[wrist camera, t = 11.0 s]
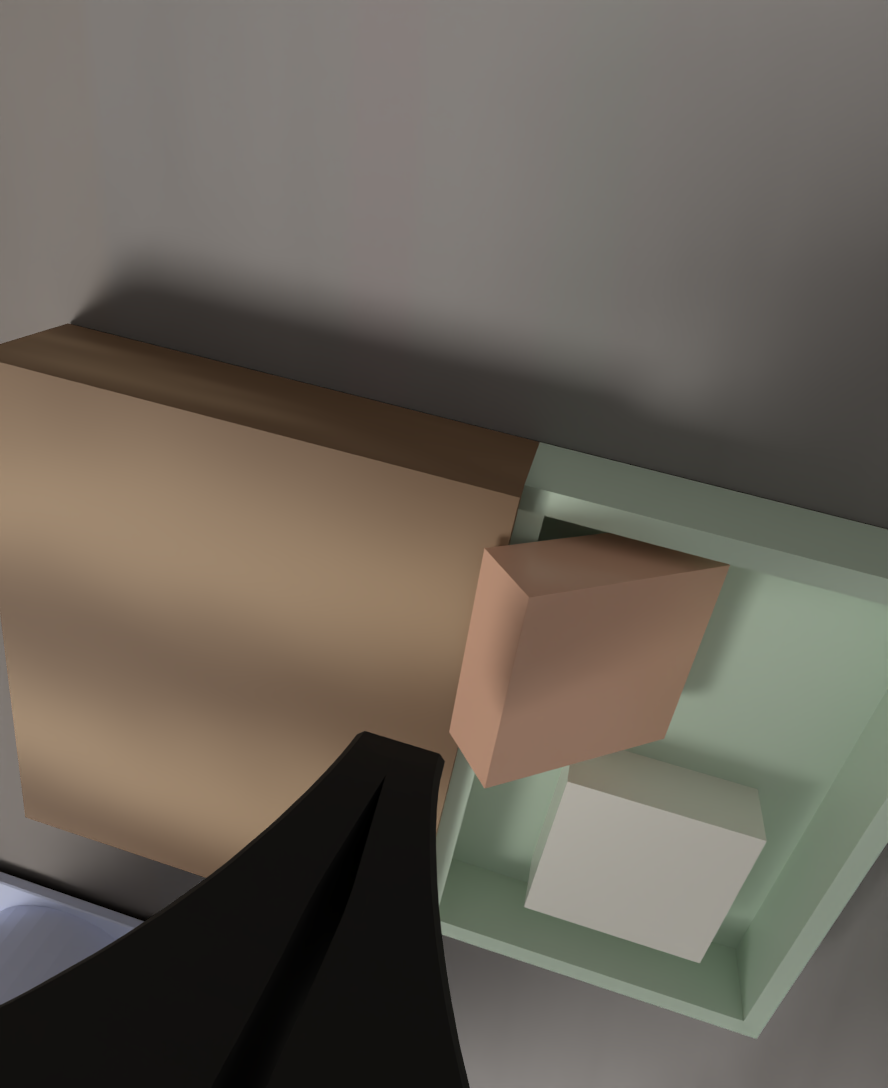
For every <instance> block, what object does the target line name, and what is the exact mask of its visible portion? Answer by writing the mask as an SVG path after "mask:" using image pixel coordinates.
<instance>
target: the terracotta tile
mask: <svg viewBox="0 0 888 1088" xmlns="http://www.w3.org/2000/svg"><path fill="white" fill-rule="evenodd" d="M729 567H730V565H729V564H726V563H722V562H719V561H715V560H711V559H707V558H703V557H700V556H696V555H692V554H688V553H684V552H681V551H677V550H673V549H669V548H665V547H661V546H658V545H654V544H650V543H646V542H642V541H639V540H635V539H631V538H627V537H623V536H620V535H616V534H612V533H602V534H594V535H586V536H578V537H570V538H562V539H554V540H546V541H538V542H530V543H522V544H514V545H506V546H498V547H490V548H484V553H483V558H482V563H481V568H480V573H479V579H478V584H477V589H476V594H475V600H474V605H473V610H472V615H471V620H470V626H469V631H468V636H467V641H466V647H465V652H464V657H463V662H462V667H461V673H460V678H459V683H458V688H457V693H456V699H455V704H454V709H453V714H452V720H451V725H450V730H449V733H450V734H451V736H452V737H453V739H454V741H455V742H456V744H457V745H458V747H459V749H460V750H461V752H462V753H463V755H464V757H465V758H466V760H467V761H468V763H469V765H470V766H471V768H472V769H473V771H474V773H475V774H476V776H477V777H478V779H479V781H480V782H481V784H482V785H483V787H484V789H485V788H489V787H492V786H496V785H500V784H503V783H507V782H510V781H514V780H518V779H521V778H525V777H528V776H532V775H536V774H539V773H543V772H546V771H550V770H553V769H557V768H561V767H564V766H568V765H571V764H575V763H579V762H582V761H586V760H589V759H593V758H597V757H600V756H604V755H607V754H611V753H615V752H618V751H622V750H625V749H629V748H633V747H636V746H640V745H643V744H647V743H650V742H654V741H658V740H661V739H664V738H665V735H666V733H667V730H668V727H669V725H670V722H671V719H672V717H673V714H674V712H675V709H676V706H677V704H678V701H679V698H680V696H681V693H682V691H683V688H684V685H685V683H686V680H687V677H688V675H689V672H690V670H691V667H692V664H693V662H694V659H695V656H696V654H697V651H698V649H699V646H700V643H701V641H702V638H703V635H704V633H705V630H706V628H707V625H708V622H709V620H710V617H711V614H712V612H713V609H714V607H715V604H716V601H717V599H718V596H719V593H720V591H721V588H722V586H723V583H724V580H725V578H726V575H727V572H728V570H729Z"/></svg>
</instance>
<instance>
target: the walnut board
mask: <svg viewBox="0 0 888 1088" xmlns="http://www.w3.org/2000/svg"><path fill="white" fill-rule="evenodd" d="M539 443H540V442H538V441H534V440H530V439H526V438H522V437H518V436H514V435H510V434H506V433H502V432H498V431H494V430H490V429H486V428H482V427H478V426H474V425H470V424H466V423H462V422H458V421H454V420H450V419H446V418H442V417H438V416H434V415H430V414H426V413H422V412H418V411H414V410H410V409H406V408H402V407H398V406H394V405H390V404H386V403H382V402H378V401H374V400H370V399H367V398H363V397H359V396H355V395H351V394H347V393H343V392H339V391H335V390H331V389H327V388H323V387H319V386H315V385H311V384H307V383H303V382H299V381H295V380H291V379H287V378H283V377H279V376H275V375H271V374H267V373H263V372H259V371H255V370H251V369H247V368H243V367H239V366H235V365H231V364H227V363H223V362H219V361H215V360H211V359H207V358H203V357H199V356H195V355H192V354H188V353H184V352H180V351H176V350H172V349H168V348H164V347H160V346H156V345H152V344H148V343H144V342H140V341H136V340H132V339H128V338H124V337H120V336H116V335H112V334H108V333H104V332H100V331H96V330H92V329H88V328H84V327H80V326H76V325H72V324H65V325H62V326H58V327H55V328H52V329H48V330H45V331H42V332H39V333H35V334H32V335H29V336H25V337H22V338H19V339H16V340H12V341H9V342H6V343H2V344H0V615H1V624H2V632H3V640H4V648H5V656H6V664H7V672H8V680H9V688H10V696H11V704H12V713H13V721H14V729H15V737H16V745H17V753H18V761H19V769H20V777H21V785H22V794H23V802H24V810H25V817H26V818H29V819H32V820H35V821H38V822H41V823H44V824H47V825H50V826H53V827H56V828H59V829H62V830H65V831H68V832H71V833H74V834H77V835H80V836H83V837H86V838H89V839H92V840H95V841H98V842H101V843H104V844H107V845H110V846H113V847H116V848H119V849H122V850H125V851H128V852H131V853H134V854H137V855H140V856H143V857H146V858H149V859H152V860H155V861H158V862H161V863H164V864H166V865H169V866H172V867H175V868H178V869H181V870H184V871H187V872H190V873H193V874H196V875H199V876H202V877H205V878H207V877H208V876H210V875H211V874H212V873H213V872H215V871H216V870H217V869H218V868H220V867H221V866H222V865H224V864H225V863H226V862H227V861H229V860H230V859H231V858H232V857H233V856H235V855H236V854H237V853H238V852H239V851H240V850H242V849H243V848H244V847H245V846H246V845H248V844H249V843H250V842H251V841H252V840H253V839H255V838H256V837H257V836H258V835H259V834H260V833H262V832H263V831H264V830H265V829H266V828H267V827H269V826H270V825H271V824H272V823H273V822H274V821H275V820H276V819H277V818H279V817H280V816H281V815H282V814H283V813H284V812H285V811H286V810H287V809H288V808H289V807H290V806H291V805H292V804H293V803H294V802H295V801H296V800H297V799H298V798H299V797H301V796H302V795H303V794H304V793H305V792H306V791H307V790H308V789H309V788H310V787H311V786H312V785H313V784H314V783H315V782H316V781H317V780H318V779H319V777H320V776H321V775H322V774H323V773H324V772H325V771H326V770H327V769H328V768H329V767H330V766H331V765H332V764H333V763H334V761H335V760H336V759H337V758H338V757H339V756H340V755H341V753H342V752H343V751H344V750H345V749H346V748H347V746H348V745H349V744H350V743H351V741H352V740H353V739H354V737H355V736H356V735H357V734H359V733H361V732H363V731H367V732H370V733H374V734H377V735H380V736H383V737H387V738H390V739H393V740H397V741H400V742H403V743H406V744H410V745H413V746H416V747H420V748H423V749H426V750H429V751H433V752H436V753H439V754H440V755H441V756H442V758H443V759H444V761H445V764H444V768H443V772H442V776H441V780H440V785H439V793H438V803H437V822H436V836H437V832H438V828H439V824H440V820H441V816H442V812H443V808H444V804H445V800H446V796H447V792H448V788H449V784H450V780H451V776H452V772H453V768H454V764H455V760H456V756H457V752H458V748H459V747H458V745H457V744H456V742H455V741H454V739H453V737H452V736H451V734H450V733H449V730H450V725H451V720H452V714H453V709H454V704H455V699H456V693H457V688H458V683H459V678H460V673H461V667H462V662H463V657H464V652H465V647H466V641H467V636H468V631H469V626H470V620H471V615H472V610H473V605H474V600H475V594H476V589H477V584H478V579H479V573H480V568H481V563H482V558H483V553H484V548H490V547H498V546H506V545H510V541H511V537H512V533H513V529H514V525H515V521H516V517H517V513H518V509H519V505H520V501H521V497H522V493H523V489H524V485H525V482H526V479H527V476H528V474H529V471H530V468H531V465H532V463H533V460H534V457H535V454H536V451H537V449H538V446H539Z"/></svg>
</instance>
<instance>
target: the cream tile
mask: <svg viewBox="0 0 888 1088" xmlns="http://www.w3.org/2000/svg"><path fill="white" fill-rule="evenodd" d="M766 842H767V840H766V834H765V828H764V823H763V817H762V811H761V805H760V800H759V794H758V789H755V788H752V787H748V786H745V785H741V784H738V783H734V782H731V781H728V780H724V779H721V778H717V777H714V776H710V775H707V774H704V773H700V772H697V771H693V770H690V769H686V768H683V767H680V766H676V765H673V764H669V763H666V762H662V761H659V760H656V759H652V758H649V757H645V756H642V755H638V754H635V753H632V752H628V751H625V750H622V751H618V752H615V753H611V754H607V755H604V756H600V757H597V758H593V759H589V760H586V761H582V762H579V763H575V764H571V765H568V766H564V767H562V770H561V773H560V776H559V779H558V782H557V785H556V788H555V791H554V794H553V796H552V799H551V802H550V805H549V808H548V811H547V814H546V817H545V820H544V823H543V826H542V829H541V832H540V835H539V838H538V841H537V844H536V847H535V850H534V853H533V856H532V860H531V866H530V872H529V879H528V885H527V891H526V897H525V904H524V907H525V908H528V909H532V910H535V911H538V912H541V913H544V914H547V915H550V916H553V917H557V918H560V919H563V920H566V921H569V922H572V923H575V924H578V925H581V926H585V927H588V928H591V929H594V930H597V931H600V932H603V933H606V934H610V935H613V936H616V937H619V938H622V939H625V940H628V941H631V942H634V943H638V944H641V945H644V946H647V947H650V948H653V949H656V950H659V951H663V952H666V953H669V954H672V955H675V956H678V957H681V958H684V959H688V960H691V961H694V962H697V963H700V962H701V960H702V958H703V957H704V955H705V953H706V951H707V949H708V947H709V946H710V944H711V942H712V940H713V938H714V937H715V935H716V933H717V931H718V929H719V927H720V926H721V924H722V922H723V920H724V918H725V916H726V915H727V913H728V911H729V909H730V907H731V905H732V904H733V902H734V900H735V898H736V896H737V895H738V893H739V891H740V889H741V887H742V885H743V884H744V882H745V880H746V878H747V876H748V874H749V873H750V871H751V869H752V867H753V865H754V864H755V862H756V860H757V858H758V856H759V854H760V853H761V851H762V849H763V847H764V845H765V843H766Z"/></svg>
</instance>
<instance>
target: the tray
mask: <svg viewBox="0 0 888 1088" xmlns="http://www.w3.org/2000/svg"><path fill="white" fill-rule="evenodd" d="M602 533H612V534H616V535H620V536H623V537H627V538H631V539H635V540H639V541H642V542H646V543H650V544H654V545H658V546H661V547H665V548H669V549H673V550H677V551H681V552H684V553H688V554H692V555H696V556H700V557H703V558H707V559H711V560H715V561H719V562H722V563H726V564H729V565H730V567H729V570H728V572H727V575H726V578H725V580H724V583H723V586H722V588H721V591H720V593H719V596H718V599H717V601H716V604H715V607H714V609H713V612H712V614H711V617H710V620H709V622H708V625H707V628H706V630H705V633H704V635H703V638H702V641H701V643H700V646H699V649H698V651H697V654H696V656H695V659H694V662H693V664H692V667H691V670H690V672H689V675H688V677H687V680H686V683H685V685H684V688H683V691H682V693H681V696H680V698H679V701H678V704H677V706H676V709H675V712H674V714H673V717H672V719H671V722H670V725H669V727H668V730H667V733H666V735H665V738H664V739H661V740H658V741H654V742H650V743H647V744H643V745H640V746H636V747H633V748H629V749H625V751H628V752H632V753H635V754H638V755H642V756H645V757H649V758H652V759H656V760H659V761H662V762H666V763H669V764H673V765H676V766H680V767H683V768H686V769H690V770H693V771H697V772H700V773H704V774H707V775H710V776H714V777H717V778H721V779H724V780H728V781H731V782H734V783H738V784H741V785H745V786H748V787H752V788H755V789H758V794H759V800H760V805H761V811H762V817H763V823H764V828H765V834H766V840H767V842H766V843H765V845H764V847H763V849H762V851H761V853H760V854H759V856H758V858H757V860H756V862H755V864H754V865H753V867H752V869H751V871H750V873H749V874H748V876H747V878H746V880H745V882H744V884H743V885H742V887H741V889H740V891H739V893H738V895H737V896H736V898H735V900H734V902H733V904H732V905H731V907H730V909H729V911H728V913H727V915H726V916H725V918H724V920H723V922H722V924H721V926H720V927H719V929H718V931H717V933H716V935H715V937H714V938H713V940H712V942H711V944H710V946H709V947H708V949H707V951H706V953H705V955H704V957H703V958H702V960H701V962H700V963H697V962H694V961H691V960H688V959H684V958H681V957H678V956H675V955H672V954H669V953H666V952H663V951H659V950H656V949H653V948H650V947H647V946H644V945H641V944H638V943H634V942H631V941H628V940H625V939H622V938H619V937H616V936H613V935H610V934H606V933H603V932H600V931H597V930H594V929H591V928H588V927H585V926H581V925H578V924H575V923H572V922H569V921H566V920H563V919H560V918H557V917H553V916H550V915H547V914H544V913H541V912H538V911H535V910H532V909H528V908H525V907H524V904H525V897H526V891H527V885H528V879H529V872H530V866H531V860H532V856H533V853H534V850H535V847H536V844H537V841H538V838H539V835H540V832H541V829H542V826H543V823H544V820H545V817H546V814H547V811H548V808H549V805H550V802H551V799H552V796H553V794H554V791H555V788H556V785H557V782H558V779H559V776H560V773H561V770H562V767H561V768H557V769H553V770H550V771H546V772H543V773H539V774H536V775H532V776H528V777H525V778H521V779H518V780H514V781H510V782H507V783H503V784H500V785H496V786H492V787H489V788H485V789H484V787H483V785H482V784H481V782H480V781H479V779H478V777H477V776H476V774H475V773H474V771H473V769H472V768H471V766H470V765H469V763H468V761H467V760H466V758H465V757H464V755H463V753H462V752H461V750H460V749H459V748H458V752H457V756H456V760H455V764H454V768H453V772H452V776H451V780H450V784H449V788H448V792H447V796H446V800H445V804H444V808H443V812H442V816H441V820H440V824H439V828H438V832H437V836H436V858H437V885H438V900H439V911H440V922H441V932H442V935H445V936H448V937H451V938H454V939H457V940H460V941H463V942H466V943H469V944H472V945H475V946H478V947H481V948H484V949H487V950H490V951H493V952H496V953H499V954H502V955H505V956H508V957H511V958H514V959H517V960H520V961H523V962H526V963H529V964H532V965H535V966H538V967H541V968H544V969H547V970H550V971H553V972H556V973H559V974H562V975H565V976H568V977H571V978H574V979H577V980H580V981H583V982H586V983H589V984H592V985H595V986H598V987H601V988H604V989H607V990H610V991H613V992H616V993H619V994H622V995H625V996H628V997H631V998H634V999H637V1000H640V1001H643V1002H646V1003H649V1004H653V1005H656V1006H659V1007H662V1008H665V1009H668V1010H671V1011H674V1012H677V1013H680V1014H683V1015H686V1016H689V1017H692V1018H695V1019H698V1020H701V1021H704V1022H707V1023H710V1024H713V1025H716V1026H719V1027H722V1028H725V1029H728V1030H731V1031H734V1032H737V1033H740V1034H743V1035H746V1036H749V1037H752V1038H755V1039H757V1038H758V1036H759V1035H760V1033H761V1032H762V1030H763V1029H764V1027H765V1026H766V1024H767V1023H768V1021H769V1020H770V1018H771V1017H772V1015H773V1014H774V1012H775V1011H776V1009H777V1008H778V1006H779V1005H780V1003H781V1002H782V1000H783V999H784V997H785V996H786V994H787V993H788V991H789V990H790V988H791V987H792V985H793V984H794V982H795V981H796V979H797V978H798V976H799V975H800V973H801V972H802V970H803V969H804V967H805V966H806V964H807V963H808V961H809V960H810V958H811V957H812V955H813V954H814V952H815V951H816V949H817V948H818V946H819V945H820V943H821V942H822V940H823V939H824V937H825V936H826V934H827V933H828V931H829V930H830V928H831V927H832V925H833V924H834V922H835V921H836V919H837V918H838V916H839V915H840V913H841V912H842V910H843V909H844V907H845V906H846V904H847V903H848V901H849V900H850V898H851V897H852V895H853V894H854V892H855V891H856V889H857V888H858V886H859V885H860V883H861V882H862V880H863V879H864V877H865V876H866V874H867V873H868V871H869V870H870V868H871V867H872V865H873V864H874V862H875V861H876V859H877V858H878V856H879V855H880V853H881V852H882V850H883V849H884V847H885V846H886V844H887V843H888V529H884V528H880V527H876V526H872V525H868V524H864V523H860V522H856V521H852V520H848V519H844V518H840V517H836V516H832V515H828V514H824V513H820V512H816V511H812V510H808V509H804V508H800V507H796V506H792V505H788V504H784V503H780V502H776V501H772V500H768V499H764V498H760V497H756V496H752V495H748V494H744V493H740V492H736V491H732V490H728V489H724V488H721V487H717V486H713V485H709V484H705V483H701V482H697V481H693V480H689V479H685V478H681V477H677V476H673V475H669V474H665V473H661V472H657V471H653V470H649V469H645V468H641V467H637V466H633V465H629V464H625V463H621V462H617V461H613V460H609V459H605V458H601V457H597V456H593V455H589V454H585V453H581V452H577V451H573V450H569V449H565V448H561V447H557V446H553V445H549V444H545V443H542V442H540V443H539V446H538V449H537V451H536V454H535V457H534V460H533V463H532V465H531V468H530V471H529V474H528V476H527V479H526V482H525V485H524V489H523V493H522V497H521V501H520V505H519V509H518V513H517V517H516V521H515V525H514V529H513V533H512V537H511V541H510V545H514V544H522V543H530V542H538V541H546V540H554V539H562V538H570V537H578V536H586V535H594V534H602Z"/></svg>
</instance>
